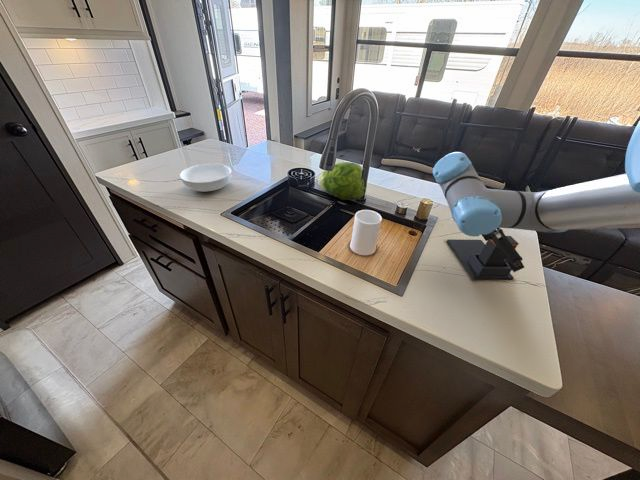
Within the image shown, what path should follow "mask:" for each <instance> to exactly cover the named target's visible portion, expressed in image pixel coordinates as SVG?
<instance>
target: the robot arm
mask: <svg viewBox="0 0 640 480" xmlns="http://www.w3.org/2000/svg"><path fill="white" fill-rule="evenodd" d="M629 139H630V140H629V142H628V144H627V147H626V152H625V157H624V158H625V161H624V170H625V173H622V174H617V175H613V176H608V177H603V178H597V179H594V180H590V181H584V182H580V183H575V184H571V185H566V186H561V187H556V188H553V189H547V190H543V191H537V192H535V191H534V192H533V191H520V190H506V189H496V188H487V187H486V185H485V184H484V182H483V180H482V179H481V178H480V176H479V174H478V172H477V171H476V169H475V167H474V166H473V162H472V161H471V160H470V159H469V157H468V156H467V155H466V154H465V153H464V152H461V151H454V152H451V153H448V154H446V155H445V156H444V157H442V158H440V159H439V160H438V161H437V162H436V163H435V164H434V166H433V168H432V176H433V177H434V179H435V182H436V183H437V184H438V186H439V187H440V189H441V191H442V193H443V196H444V198H445V200H446V203H447V206H448V208H449V210H450V213H451V218H452V220H453V221H454V223H455V224H456V226H457V228H458V230H459V232H461V233H462V234H463V235H466V236H467V237H468V236H469V237H479V236H482V238H483V239H484V241H485V242H487V241H488V239H491V240H492V241H493V242H494V243H495V245H496V246H497V247H498V249H499V250H500V251H501V253H502V254H503V255H504V256H505V260H504V262H505V263H508V264H509V266H510V268H511V269H512V271H511V272H513V273H517V272H518V271H520V270H522V269H524V268H525V265H524V264H523V262H522V261H523V260H524V259H523V257H522V256H521V255H520V253H519V252H518V251H517V249H516V248H514V247H513V245H512V244H511V243H510V241H509V240H508V239H507V237H506V236H507V235H506V234H505V232H504V230H503V229H514V230H522V231H524V230H525V231H532V232H533V231H534V232H539V233H548V234H549V233H565V232H568V230H603V229H605V230H606V229H640V120H639V121H638V122H637V124H636V126H635V128H634V130H633V133H632V135H631V137H630V138H629Z"/></svg>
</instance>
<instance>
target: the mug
mask: <svg viewBox="0 0 640 480" xmlns="http://www.w3.org/2000/svg"><path fill="white" fill-rule="evenodd" d="M382 222H383V217H382V216H381V214H380V213H378V212H377V211H375V210H370V209H361V210H358V211H356V212H355V215H354V220H353V227H352V233H351V235H352V236H351V239H350V240H351V241H350V243H349V248H350V250H351V251H352V252H353V253H354V254H356V255H358V256H370V255H373V254H374V253H375V252H376V251H377V243H378V237H379V233H380V229H381V225H382Z"/></svg>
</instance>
